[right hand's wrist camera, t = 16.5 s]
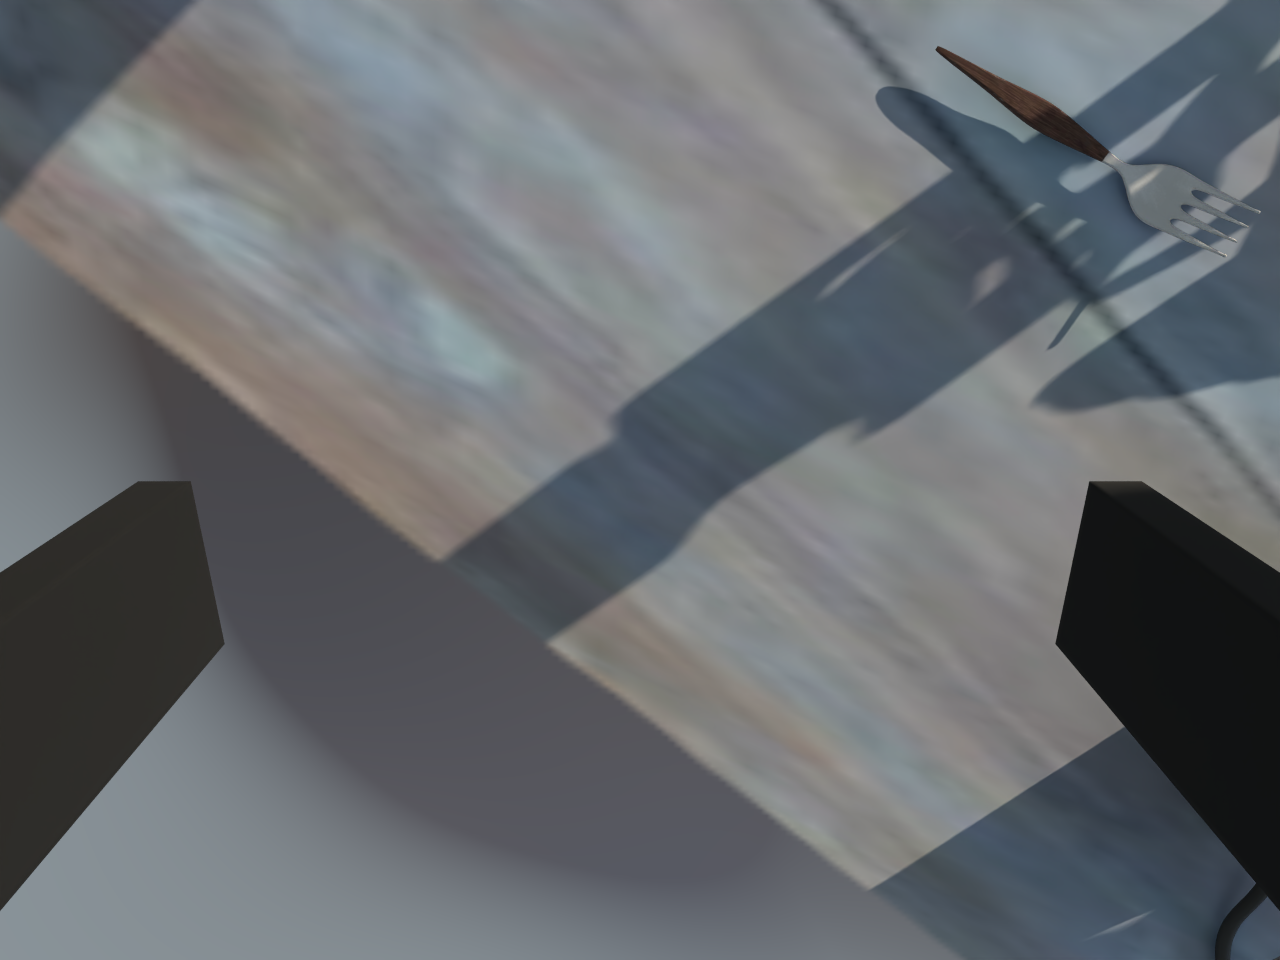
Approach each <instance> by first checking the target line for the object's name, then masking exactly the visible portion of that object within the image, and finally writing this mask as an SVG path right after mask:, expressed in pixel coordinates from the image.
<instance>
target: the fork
mask: <svg viewBox="0 0 1280 960" xmlns="http://www.w3.org/2000/svg"><path fill="white" fill-rule="evenodd" d="M936 51H937V52H938V53H939V54H940V55H942V56H943V57H944V58H945V59H946V60H948V61H949V62H950V63H951V64H953V65H954V66H955V67H957V68H958V69H959V70H960V71H962V72H963V73H964V74H966V75H967V76H968V77H969V78H971V79H972V80H973V81H975V82H976V83H977V84H978V85H980V86H981V87H982V88H983V89H985V90H986V91H987V92H988V93H990V94H991V95H992V96H993V97H994V98H996V99H997V100H998V101H999V102H1000V103H1002V104H1003V105H1004V106H1005V107H1006V108H1007V109H1009V110H1010V111H1011V112H1012V113H1013V114H1015V115H1016V116H1017V117H1018V118H1020V119H1021V120H1022V121H1023V122H1025V123H1026V124H1028V125H1029V126H1030V127H1032V128H1034V129H1035V130H1037V131H1039V132H1040V133H1042V134H1044V135H1046V136H1048V137H1050V138H1052V139H1054V140H1056V141H1058V142H1060V143H1062V144H1064V145H1067V146H1069V147H1071V148H1073V149H1075V150H1077V151H1079V152H1082V153H1084V154H1086V155H1088V156H1090V157H1092V158H1094V159H1097V160H1099V161H1101V162H1103V163H1105V164H1107V165H1109V166H1110V167H1112V168H1114V169H1115V170H1116V171H1117V172H1118V173H1119V174H1120V175H1121V177H1122V179H1123V182H1124V185H1125V189H1126V193H1127V197H1128V200H1129V203H1130V206H1131V208H1132V210H1133V212H1134V213H1135V215H1136V216H1137V217H1138V218H1139V219H1140V220H1141V221H1143V222H1144V223H1146V224H1148V225H1149V226H1152V227H1154V228H1156V229H1159V230H1161V231H1164V232H1166V233H1168V234H1171V235H1173V236H1175V237H1177V238H1180V239H1182V240H1184V241H1187V242H1189V243H1191V244H1194V245H1196V246H1199V247H1201V248H1204V249H1206V250H1209V251H1211V252H1214V253H1216V254H1219V255H1221V256H1223V257H1226V256H1227V255H1226V254H1223V253H1221V252H1219V251H1217V250H1215V249H1214V248H1212V247H1210V246H1208V245H1206V244H1205V243H1203V242H1201V241H1199V240H1197V239H1196V238H1194V237H1192V236H1190V235H1188V234H1187V233H1185V232H1183V231H1181V230H1180V229H1178V228H1176V227H1175V226H1173V225H1172V224H1171V222H1170V220H1171V219H1178V220H1181V221H1183V222H1186V223H1188V224H1191V225H1193V226H1195V227H1198V228H1200V229H1203V230H1205V231H1208V232H1210V233H1213V234H1215V235H1218V236H1220V237H1223V238H1225V239H1228V240H1231V241H1233V242H1238V241H1236V240H1235V239H1233V238H1231V237H1229V236H1227V235H1225V234H1223V233H1222V232H1220V231H1218V230H1216V229H1214V228H1213V227H1211V226H1209V225H1207V224H1205V223H1203V222H1202V221H1200V220H1198V219H1196V218H1194V217H1192V216H1191V215H1189V214H1187V213H1186V212H1184V211H1183V210H1182V209H1181V206H1182V205H1190V206H1192V207H1195V208H1198V209H1200V210H1202V211H1205V212H1207V213H1210V214H1212V215H1215V216H1217V217H1220V218H1222V219H1225V220H1227V221H1230V222H1233V223H1235V224H1238V225H1241V226H1243V227H1246V228H1249V227H1248V226H1247V225H1245V224H1243V223H1241V222H1239V221H1237V220H1236V219H1234V218H1232V217H1230V216H1228V215H1226V214H1224V213H1223V212H1221V211H1219V210H1217V209H1215V208H1213V207H1212V206H1210V205H1208V204H1206V203H1204V202H1202V201H1201V200H1199V199H1197V198H1196V197H1194V196H1193V195H1192V191H1193V190H1199V191H1202V192H1205V193H1207V194H1210V195H1212V196H1215V197H1217V198H1220V199H1222V200H1225V201H1227V202H1230V203H1232V204H1235V205H1238V206H1240V207H1243V208H1246V209H1248V210H1251V211H1253V212H1256V213H1258V214H1259V213H1260V211H1259V210H1256V209H1254V208H1252V207H1250V206H1248V205H1246V204H1244V203H1243V202H1241V201H1239V200H1237V199H1235V198H1233V197H1231V196H1229V195H1228V194H1226V193H1224V192H1222V191H1220V190H1218V189H1216V188H1214V187H1212V186H1211V185H1209V184H1207V183H1205V182H1203V181H1202V180H1200V179H1198V178H1197V177H1195V176H1194V175H1192V174H1190V173H1189V172H1187V171H1185V170H1183V169H1181V168H1178V167H1176V166H1172V165H1167V164H1147V165H1130V164H1127V163H1124V162H1123V161H1121V160H1119V159H1118V158H1117V157H1115V156H1114V155H1113V154H1112V153H1111V152H1109V151H1108V150H1107V149H1106V148H1105V147H1104V146H1102V145H1101V144H1100V143H1099V142H1098V141H1097V140H1096V139H1094V138H1093V137H1092V136H1091V135H1090V134H1089V133H1088V132H1086V131H1085V130H1084V129H1083V128H1082V127H1081V126H1080V125H1078V124H1077V123H1076V122H1075V121H1074V120H1073V119H1071V118H1070V117H1069V116H1068V115H1067V114H1065V113H1064V112H1063V111H1061V110H1060V109H1059V108H1057V107H1056V106H1054V105H1053V104H1051V103H1050V102H1048V101H1046V100H1045V99H1043V98H1041V97H1039V96H1037V95H1035V94H1033V93H1031V92H1029V91H1027V90H1025V89H1023V88H1021V87H1019V86H1017V85H1014V84H1012V83H1010V82H1008V81H1006V80H1004V79H1002V78H1000V77H998V76H996V75H994V74H992V73H990V72H988V71H986V70H984V69H982V68H980V67H978V66H977V65H975V64H973V63H971V62H969V61H967V60H965V59H963V58H961V57H959V56H957V55H956V54H954V53H952V52H950V51H948V50H946V49H944V48H941V47H939V46H938V47H937V48H936Z"/></svg>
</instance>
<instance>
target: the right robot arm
mask: <svg viewBox="0 0 1280 960" xmlns="http://www.w3.org/2000/svg"><path fill="white" fill-rule="evenodd" d="M223 645H224V639H223V634H222V629H221V625H220V620H219V615H218V610H217V605H216V601H215V596H214V591H213V586H212V582H211V577H210V572H209V567H208V562H207V558H206V553H205V548H204V543H203V538H202V534H201V529H200V524H199V519H198V514H197V510H196V505H195V500H194V495H193V490H192V486H191V482H190V481H138V482H137V483H135V484H134V485H132V486H131V487H129V488H128V489H126V490H125V491H123V492H122V493H120V494H118V495H117V496H115V497H114V498H113V499H111V500H109V501H108V502H106V503H105V504H103V505H102V506H100V507H99V508H97V509H96V510H94V511H93V512H91V513H90V514H88V515H87V516H85V517H84V518H82V519H81V520H79V521H78V522H76V523H75V524H73V525H72V526H70V527H69V528H67V529H66V530H64V531H63V532H61V533H60V534H58V535H57V536H55V537H53V538H52V539H50V540H49V541H47V542H46V543H44V544H43V545H41V546H40V547H38V548H37V549H35V550H34V551H32V552H31V553H29V554H28V555H26V556H25V557H23V558H22V559H20V560H19V561H17V562H16V563H14V564H13V565H11V566H10V567H8V568H7V569H5V570H4V571H2V572H1V573H0V910H1V909H2V908H3V907H4V906H5V904H6V903H7V902H8V901H9V900H10V898H11V897H12V896H13V895H14V894H15V893H16V891H17V890H18V889H19V888H20V887H21V885H22V884H23V883H24V882H25V881H26V880H27V878H28V877H29V876H30V875H31V874H32V872H33V871H34V870H35V869H36V868H37V866H38V865H39V864H40V863H41V862H42V860H43V859H44V858H45V857H46V856H47V855H48V853H49V852H50V851H51V850H52V848H53V847H54V846H55V845H56V844H57V843H58V841H59V840H60V839H61V838H62V837H63V835H64V834H65V833H66V832H67V831H68V830H69V828H70V827H71V826H72V825H73V824H74V822H75V821H76V820H77V819H78V818H79V816H80V815H81V814H82V813H83V812H84V810H85V809H86V808H87V807H88V806H89V805H90V803H91V802H92V801H93V800H94V799H95V797H96V796H97V795H98V794H99V793H100V791H101V790H102V789H103V788H104V787H105V785H106V784H107V783H108V782H109V781H110V780H111V778H112V777H113V776H114V775H115V774H116V772H117V771H118V770H119V769H120V768H121V766H122V765H123V764H124V763H125V762H126V760H127V759H128V758H129V757H130V756H131V755H132V753H133V752H134V751H135V750H136V749H137V747H138V746H139V745H140V744H141V743H142V741H143V740H144V739H145V738H146V737H147V735H148V734H149V733H150V732H151V731H152V730H153V728H154V727H155V726H156V725H157V724H158V722H159V721H160V720H161V719H162V718H163V716H164V715H165V714H166V713H167V712H168V710H169V709H170V708H171V707H172V706H173V705H174V703H175V702H176V701H177V700H178V699H179V697H180V696H181V695H182V694H183V693H184V692H185V690H186V689H187V688H188V687H189V686H190V684H191V683H192V682H193V681H194V680H195V678H196V677H197V676H198V675H199V674H200V672H201V671H202V670H203V669H204V668H205V667H206V665H207V664H208V663H209V662H210V661H211V659H212V658H213V657H214V656H215V655H216V653H217V652H218V651H219V650H220V649H221V647H222V646H223ZM1056 645H1057V646H1058V647H1059V649H1060V650H1061V651H1062V652H1063V653H1064V655H1065V656H1066V657H1067V658H1068V659H1069V661H1070V662H1071V663H1072V664H1073V665H1074V667H1075V668H1076V669H1077V670H1078V671H1079V672H1080V674H1081V675H1082V676H1083V677H1084V678H1085V680H1086V681H1087V682H1088V683H1089V684H1090V686H1091V687H1092V688H1093V689H1094V690H1095V692H1096V693H1097V694H1098V695H1099V696H1100V697H1101V699H1102V700H1103V701H1104V702H1105V703H1106V705H1107V706H1108V707H1109V708H1110V709H1111V711H1112V712H1113V713H1114V714H1115V715H1116V716H1117V718H1118V719H1119V720H1120V721H1121V722H1122V724H1123V725H1124V726H1125V727H1126V728H1127V730H1128V731H1129V732H1130V733H1131V734H1132V736H1133V737H1134V738H1135V739H1136V740H1137V741H1138V743H1139V744H1140V745H1141V746H1142V747H1143V749H1144V750H1145V751H1146V752H1147V753H1148V755H1149V756H1150V757H1151V758H1152V759H1153V761H1154V762H1155V763H1156V764H1157V765H1158V766H1159V768H1160V769H1161V770H1162V771H1163V772H1164V774H1165V775H1166V776H1167V777H1168V778H1169V780H1170V781H1171V782H1172V783H1173V784H1174V786H1175V787H1176V788H1177V789H1178V790H1179V791H1180V793H1181V794H1182V795H1183V796H1184V797H1185V799H1186V800H1187V801H1188V802H1189V803H1190V805H1191V806H1192V807H1193V808H1194V809H1195V810H1196V812H1197V813H1198V814H1199V815H1200V816H1201V818H1202V819H1203V820H1204V821H1205V822H1206V824H1207V825H1208V826H1209V827H1210V828H1211V830H1212V831H1213V832H1214V833H1215V834H1216V835H1217V837H1218V838H1219V839H1220V840H1221V841H1222V843H1223V844H1224V845H1225V846H1226V847H1227V849H1228V850H1229V851H1230V852H1231V853H1232V855H1233V856H1234V857H1235V858H1236V859H1237V860H1238V862H1239V863H1240V864H1241V865H1242V866H1243V868H1244V869H1245V870H1246V871H1247V872H1248V874H1249V875H1250V876H1251V877H1252V878H1253V880H1254V881H1255V882H1256V884H1255V886H1254V887H1253V888H1252V889H1251V890H1250V892H1249V893H1248V894H1247V895H1246V896H1245V897H1244V898H1243V899H1242V900H1241V901H1240V902H1239V903H1238V904H1237V905H1236V906H1235V907H1234V908H1233V909H1232V910H1231V911H1230V913H1229V914H1228V915H1227V916H1226V918H1225V919H1224V921H1223V923H1222V925H1221V927H1220V930H1219V932H1218V935H1217V939H1216V947H1215V960H1230V951H1231V945H1232V941H1233V938H1234V936H1235V933H1236V931H1237V929H1238V928H1239V926H1240V925H1241V923H1242V922H1243V921H1244V920H1245V919H1246V918H1247V917H1248V916H1249V915H1250V914H1251V913H1252V912H1253V911H1254V910H1255V909H1256V908H1257V907H1258V906H1259V905H1260V904H1261V903H1262V902H1263V901H1264V900H1265V898H1266V897H1267V896H1268V897H1269V899H1270V900H1271V901H1272V902H1273V903H1274V904H1275V906H1276V907H1277V908H1278V909H1279V910H1280V573H1279V572H1278V571H1276V570H1275V569H1273V568H1272V567H1270V566H1269V565H1267V564H1266V563H1264V562H1263V561H1261V560H1260V559H1258V558H1257V557H1255V556H1254V555H1252V554H1251V553H1249V552H1248V551H1246V550H1245V549H1243V548H1242V547H1240V546H1239V545H1237V544H1236V543H1234V542H1233V541H1231V540H1230V539H1228V538H1227V537H1225V536H1224V535H1222V534H1220V533H1219V532H1217V531H1216V530H1214V529H1213V528H1211V527H1210V526H1208V525H1207V524H1205V523H1204V522H1202V521H1201V520H1199V519H1198V518H1196V517H1195V516H1193V515H1192V514H1190V513H1189V512H1187V511H1186V510H1184V509H1183V508H1181V507H1180V506H1178V505H1177V504H1175V503H1174V502H1172V501H1171V500H1169V499H1168V498H1166V497H1165V496H1163V495H1162V494H1160V493H1159V492H1157V491H1155V490H1154V489H1152V488H1151V487H1149V486H1148V485H1146V484H1145V483H1143V482H1142V481H1089V486H1088V490H1087V495H1086V500H1085V505H1084V510H1083V514H1082V519H1081V524H1080V529H1079V534H1078V538H1077V543H1076V548H1075V553H1074V558H1073V562H1072V567H1071V572H1070V577H1069V581H1068V586H1067V591H1066V596H1065V601H1064V605H1063V610H1062V615H1061V620H1060V625H1059V629H1058V634H1057V639H1056ZM1273 960H1280V956H1279V957H1277V958H1275V959H1273Z"/></svg>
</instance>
